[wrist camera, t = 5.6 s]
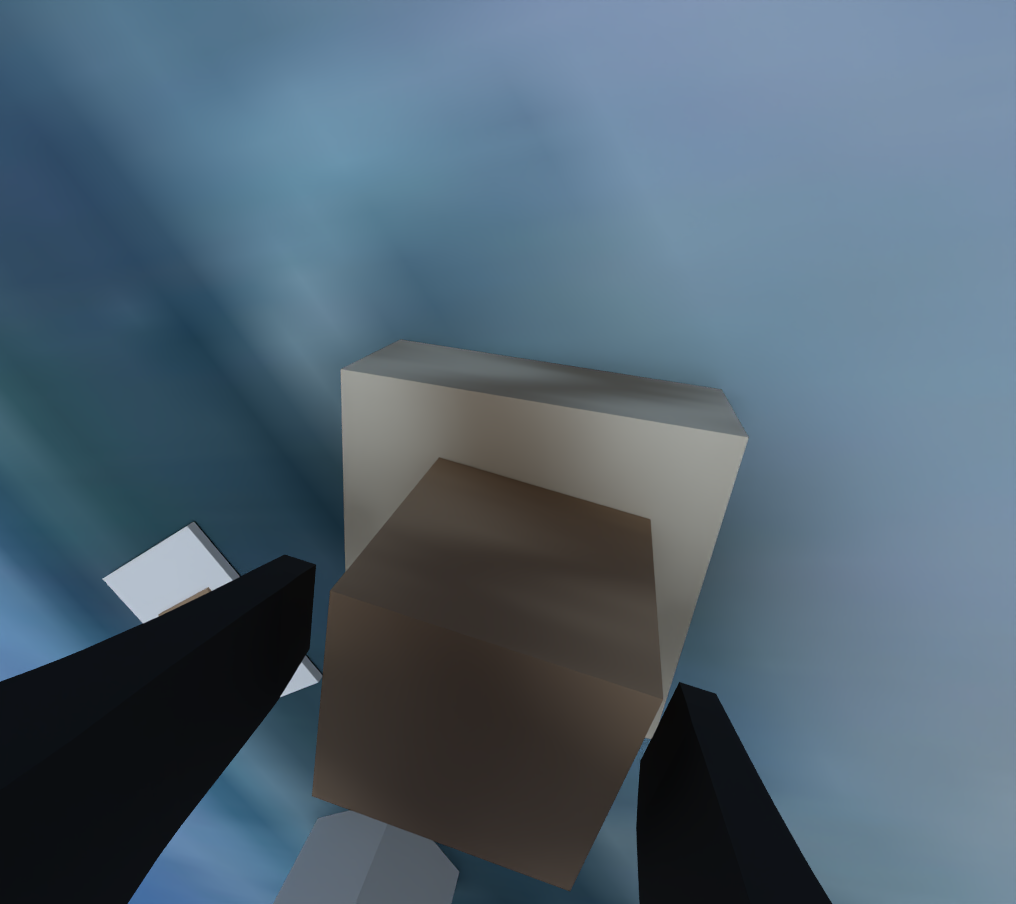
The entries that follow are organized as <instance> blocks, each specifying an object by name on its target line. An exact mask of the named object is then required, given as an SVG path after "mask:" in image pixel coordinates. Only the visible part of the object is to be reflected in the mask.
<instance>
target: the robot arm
mask: <svg viewBox="0 0 1016 904" xmlns="http://www.w3.org/2000/svg"><path fill="white" fill-rule="evenodd" d="M315 571H316V565H315V564H312V563H309V562H306V561H303V560H300V559H297V558H294V557H291V556H288V555H283V556H281V557H279V558H277V559H275V560H273V561H271V562H269V563H266V564H264V565H262V566H260V567H258V568H256V569H254V570H252V571H250V572H249V573H247V574H245V575H243V576H241V577H239V578H237V579H235V580H233V581H231V582H229V583H227V584H224V585H222V586H220V587H218V588H216V589H214V590H212V591H210V592H208V593H206V594H204V595H202V596H200V597H198V598H196V599H194V600H192V601H190V602H188V603H186V604H184V605H182V606H179V607H177V608H175V609H173V610H171V611H169V612H167V613H165V614H163V615H161V616H159V617H157V618H154V619H152V620H150V621H147V622H145V623H143V624H141V625H138V626H136V627H134V628H131V629H129V630H127V631H125V632H122V633H120V634H118V635H116V636H113V637H111V638H109V639H106V640H104V641H102V642H100V643H97V644H95V645H93V646H91V647H88V648H86V649H84V650H81V651H79V652H76V653H74V654H72V655H69V656H67V657H64V658H62V659H59V660H57V661H54V662H51V663H49V664H46V665H44V666H41V667H39V668H36V669H34V670H31V671H28V672H25V673H23V674H20V675H17V676H14V677H12V678H9V679H6V680H4V681H1V682H0V904H128V902H129V901H130V899H131V898H132V896H133V895H134V893H135V892H136V890H137V889H138V887H139V885H140V884H141V882H142V881H143V879H144V878H145V876H146V875H147V873H148V872H149V870H150V869H151V867H152V866H153V864H154V863H155V861H156V860H157V858H158V857H159V855H160V854H161V853H162V851H163V850H164V848H165V847H166V846H167V844H168V843H169V842H170V840H171V839H172V837H173V836H174V835H175V833H176V832H177V831H178V829H179V828H180V826H181V825H182V824H183V823H184V821H185V820H186V819H187V817H188V816H189V815H190V814H191V812H192V811H193V810H194V808H195V807H196V806H197V805H198V803H199V802H200V801H201V799H202V798H203V797H204V796H205V794H206V793H207V792H208V790H209V789H210V788H211V787H212V785H213V784H214V783H215V781H216V780H217V779H218V778H219V776H220V775H221V774H222V772H223V771H224V770H225V769H226V767H227V766H228V765H229V763H230V762H231V761H232V760H233V758H234V757H235V756H236V754H237V753H238V752H239V751H240V749H241V748H242V747H243V746H244V744H245V743H246V742H247V740H248V739H249V738H250V736H251V735H252V734H253V733H254V731H255V730H256V729H257V727H258V726H259V725H260V723H261V722H262V721H263V720H264V718H265V717H266V716H267V714H268V713H269V712H270V710H271V709H272V708H273V706H274V705H275V704H276V702H277V701H278V700H279V698H280V696H281V695H282V693H283V692H284V690H285V688H286V687H287V685H288V684H289V682H290V680H291V679H292V677H293V676H294V674H295V672H296V670H297V669H298V667H299V665H300V664H301V662H302V660H303V659H304V657H305V655H306V654H307V652H308V650H309V649H310V636H311V623H312V610H313V597H314V584H315ZM636 831H637V856H638V879H639V900H640V904H832V903H831V901H830V899H829V898H828V896H827V895H826V893H825V891H824V890H823V888H822V886H821V885H820V883H819V882H818V880H817V878H816V877H815V875H814V873H813V871H812V870H811V868H810V866H809V865H808V863H807V861H806V860H805V858H804V856H803V854H802V853H801V851H800V849H799V847H798V845H797V844H796V842H795V840H794V838H793V837H792V835H791V833H790V831H789V829H788V828H787V826H786V824H785V822H784V821H783V819H782V817H781V815H780V813H779V812H778V810H777V808H776V806H775V805H774V803H773V801H772V799H771V797H770V795H769V793H768V792H767V790H766V788H765V786H764V784H763V782H762V780H761V779H760V777H759V775H758V773H757V771H756V769H755V767H754V765H753V763H752V762H751V760H750V758H749V756H748V754H747V752H746V750H745V748H744V746H743V744H742V743H741V741H740V739H739V737H738V735H737V733H736V731H735V729H734V727H733V725H732V723H731V721H730V719H729V718H728V716H727V714H726V712H725V710H724V708H723V706H722V704H721V702H720V701H719V699H718V697H717V695H716V694H715V693H712V692H708V691H705V690H702V689H699V688H696V687H693V686H690V685H687V684H684V683H681V682H679V684H678V686H677V688H676V690H675V692H674V694H673V696H672V698H671V700H670V702H669V704H668V706H667V708H666V710H665V712H664V714H663V716H662V718H661V720H660V722H659V724H658V727H657V729H656V731H655V733H654V735H653V737H652V739H651V741H650V743H649V745H648V747H647V749H646V751H645V753H644V755H643V757H642V759H641V761H640V774H639V788H638V805H637V825H636Z"/></svg>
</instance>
